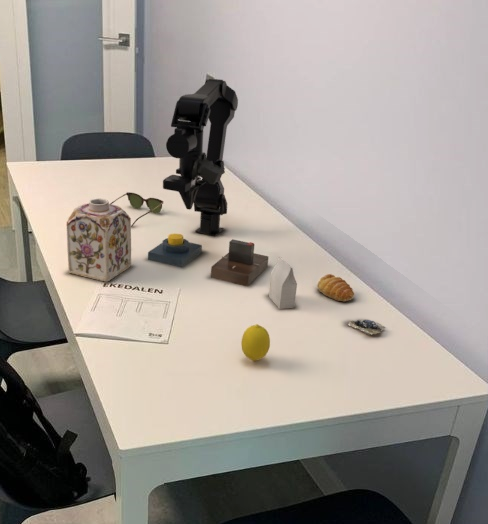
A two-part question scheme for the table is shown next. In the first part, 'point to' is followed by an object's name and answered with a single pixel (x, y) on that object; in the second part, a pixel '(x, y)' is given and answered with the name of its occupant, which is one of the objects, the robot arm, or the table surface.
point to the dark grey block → (241, 251)
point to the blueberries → (367, 326)
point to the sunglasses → (138, 201)
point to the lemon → (255, 342)
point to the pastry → (335, 288)
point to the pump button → (175, 239)
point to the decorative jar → (99, 240)
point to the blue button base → (175, 253)
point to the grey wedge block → (283, 285)
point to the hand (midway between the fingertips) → (189, 209)
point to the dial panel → (239, 270)
